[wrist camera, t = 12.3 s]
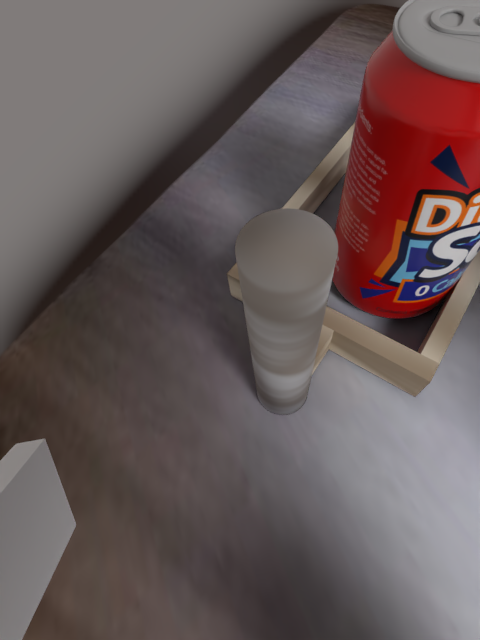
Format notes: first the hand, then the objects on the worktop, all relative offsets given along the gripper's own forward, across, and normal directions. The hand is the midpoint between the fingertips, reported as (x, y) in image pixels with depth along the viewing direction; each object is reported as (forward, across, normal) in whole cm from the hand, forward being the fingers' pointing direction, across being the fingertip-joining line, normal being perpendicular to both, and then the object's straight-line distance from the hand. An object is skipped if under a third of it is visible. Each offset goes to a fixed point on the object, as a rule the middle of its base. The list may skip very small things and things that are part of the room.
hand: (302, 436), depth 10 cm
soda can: (+17, +9, 0) cm, 19 cm away
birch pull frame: (+18, +9, +2) cm, 20 cm away
